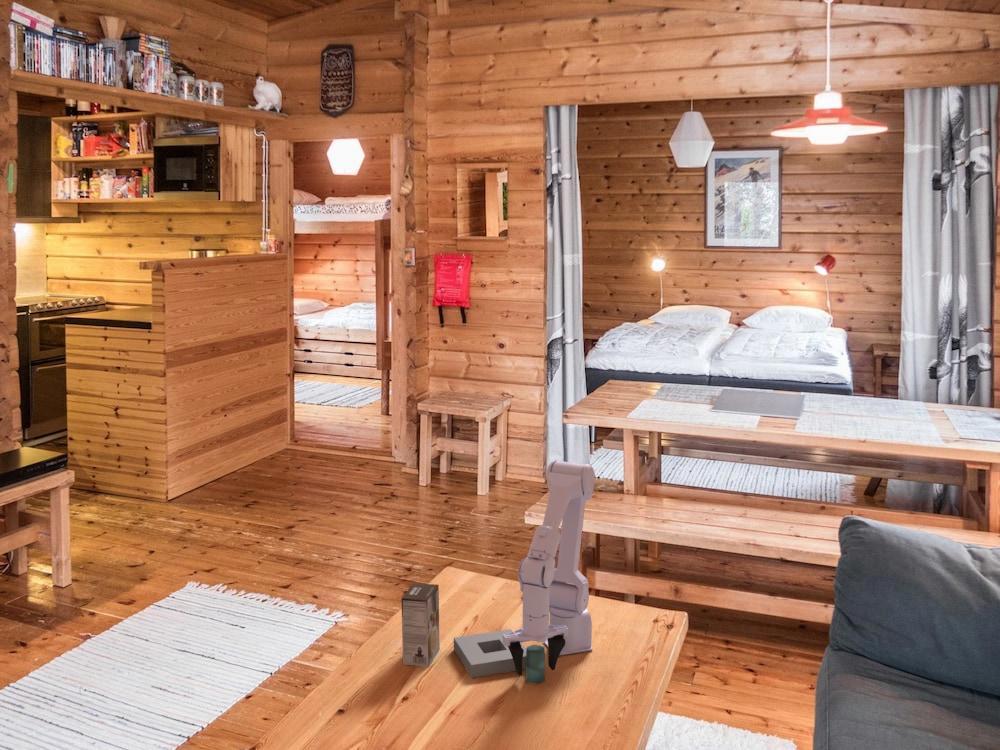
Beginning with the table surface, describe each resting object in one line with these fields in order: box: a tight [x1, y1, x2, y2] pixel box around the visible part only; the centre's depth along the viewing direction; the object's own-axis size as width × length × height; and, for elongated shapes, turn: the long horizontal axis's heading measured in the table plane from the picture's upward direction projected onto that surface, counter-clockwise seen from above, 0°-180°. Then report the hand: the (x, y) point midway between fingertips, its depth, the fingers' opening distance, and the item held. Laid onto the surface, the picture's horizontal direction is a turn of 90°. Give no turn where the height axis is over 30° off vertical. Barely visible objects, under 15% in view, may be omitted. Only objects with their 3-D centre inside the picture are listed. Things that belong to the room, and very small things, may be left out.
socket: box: [453, 628, 527, 679], centre depth 208 cm, size 14×14×3 cm
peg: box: [525, 644, 546, 685], centre depth 198 cm, size 4×4×7 cm
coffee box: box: [400, 582, 441, 668], centre depth 208 cm, size 9×6×16 cm
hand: (535, 670), depth 199 cm, fingers open, 7 cm apart
